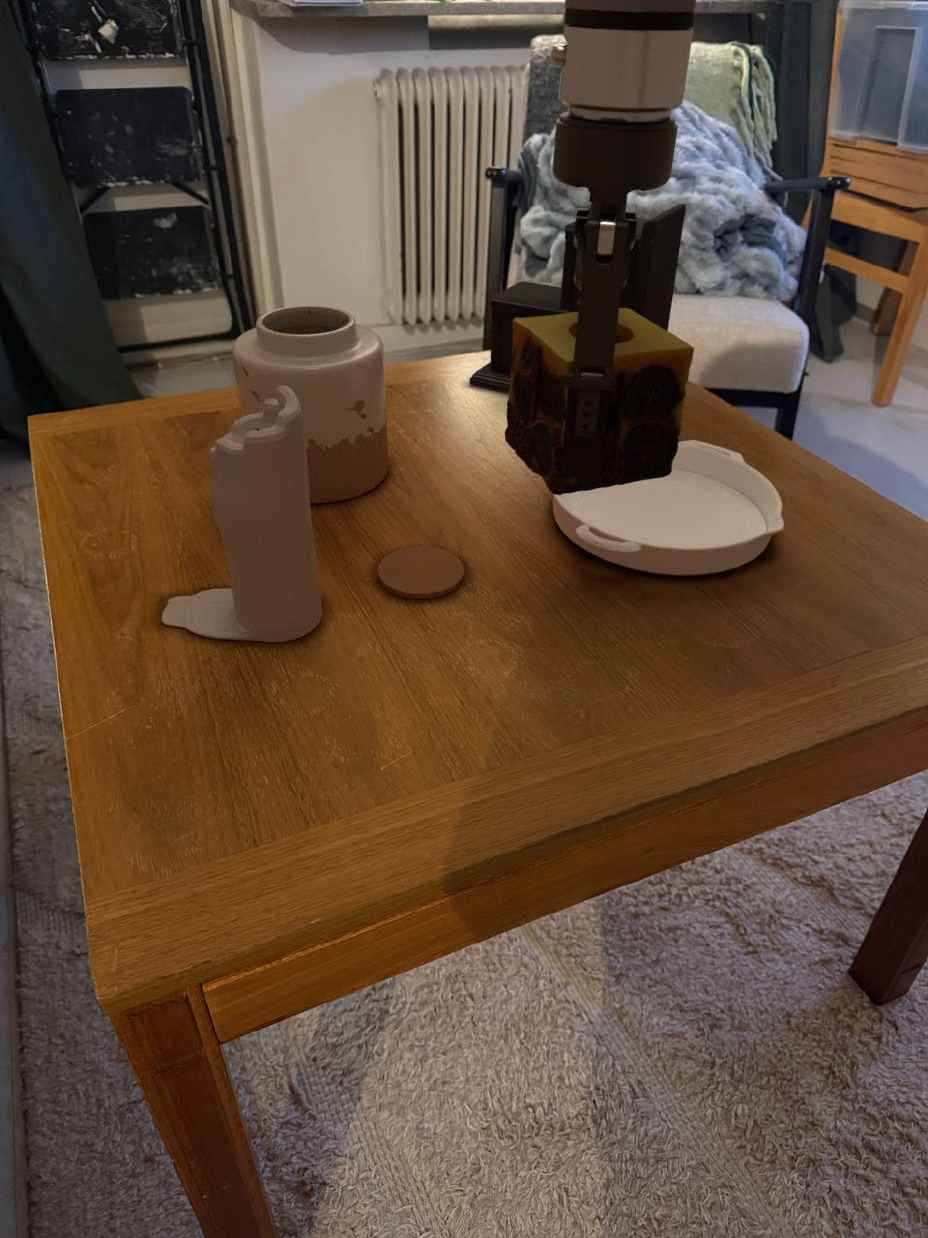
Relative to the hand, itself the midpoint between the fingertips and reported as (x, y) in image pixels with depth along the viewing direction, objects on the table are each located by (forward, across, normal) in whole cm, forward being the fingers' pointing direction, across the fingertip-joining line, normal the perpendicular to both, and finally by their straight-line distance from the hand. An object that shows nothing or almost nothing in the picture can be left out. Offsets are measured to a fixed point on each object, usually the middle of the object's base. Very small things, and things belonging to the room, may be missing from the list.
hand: (582, 433), depth 66 cm
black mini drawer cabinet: (+17, -50, -2) cm, 53 cm away
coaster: (+17, -3, -13) cm, 22 cm away
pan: (+17, -17, +9) cm, 26 cm away
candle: (+2, 0, 0) cm, 3 cm away
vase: (+17, -22, -28) cm, 39 cm away
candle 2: (+17, +5, -27) cm, 33 cm away
